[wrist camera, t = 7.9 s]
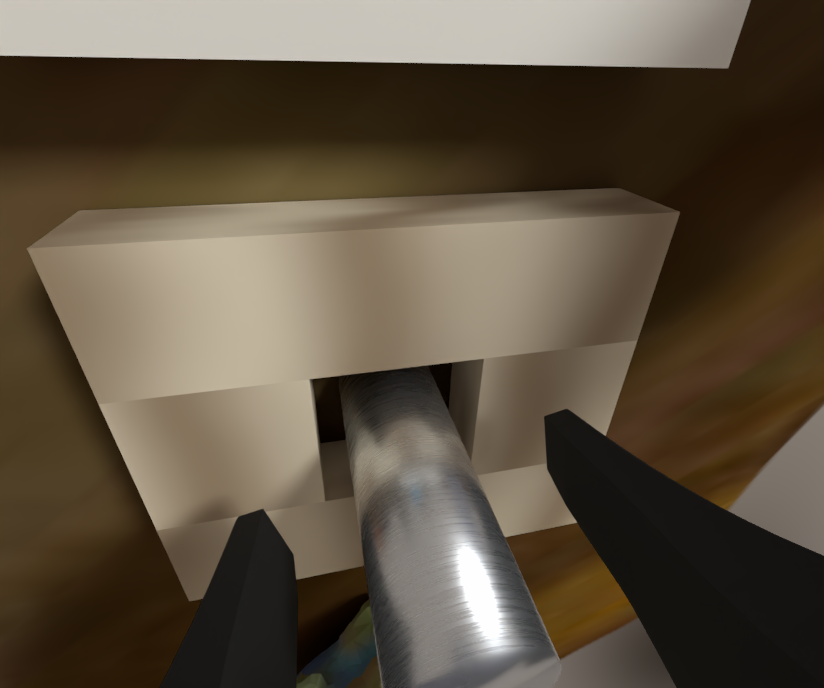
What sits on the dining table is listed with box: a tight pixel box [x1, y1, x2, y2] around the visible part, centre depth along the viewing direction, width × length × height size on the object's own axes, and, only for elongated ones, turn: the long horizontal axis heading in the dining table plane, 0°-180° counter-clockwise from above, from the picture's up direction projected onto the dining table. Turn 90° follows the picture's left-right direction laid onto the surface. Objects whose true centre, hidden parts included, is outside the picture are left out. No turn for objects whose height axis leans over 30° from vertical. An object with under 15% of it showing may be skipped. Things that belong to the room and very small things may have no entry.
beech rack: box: [27, 188, 680, 601], centre depth 14 cm, size 14×12×2 cm
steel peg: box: [338, 365, 562, 688], centre depth 11 cm, size 3×3×9 cm
